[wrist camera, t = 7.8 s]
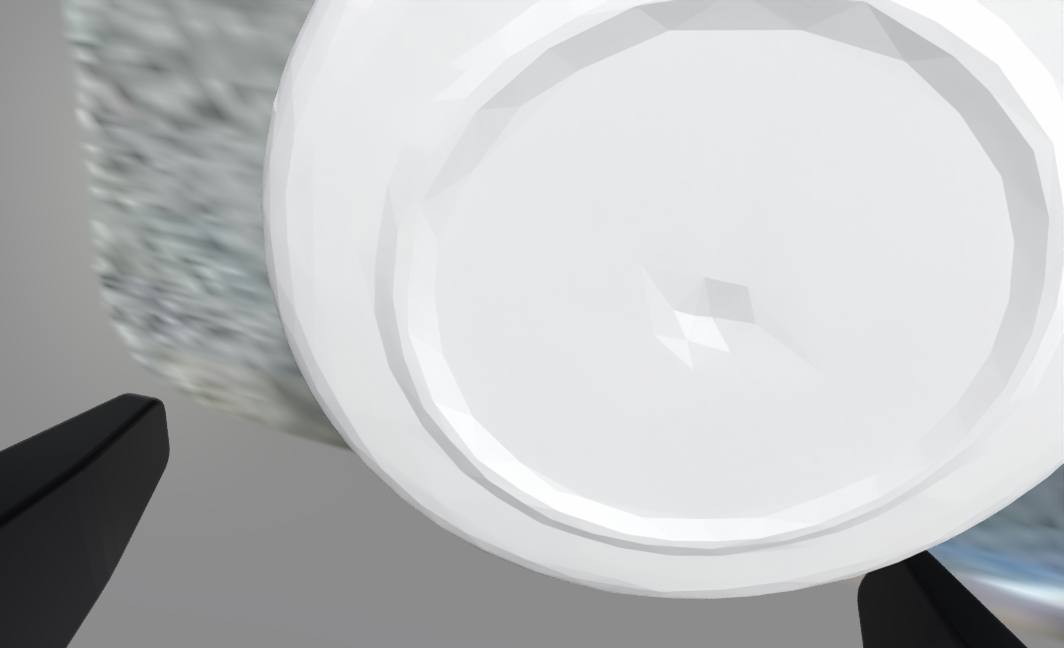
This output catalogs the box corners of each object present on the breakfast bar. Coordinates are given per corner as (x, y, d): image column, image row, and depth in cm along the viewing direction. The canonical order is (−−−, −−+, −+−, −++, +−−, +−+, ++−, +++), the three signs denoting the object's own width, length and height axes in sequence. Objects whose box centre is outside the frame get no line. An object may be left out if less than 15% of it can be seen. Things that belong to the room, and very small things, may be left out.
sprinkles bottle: (578, 123, 17) (520, 696, 5) (474, -80, 15) (9, 120, 3) (777, 21, 15) (1312, 509, 4) (693, -220, 13) (1275, -774, 2)
